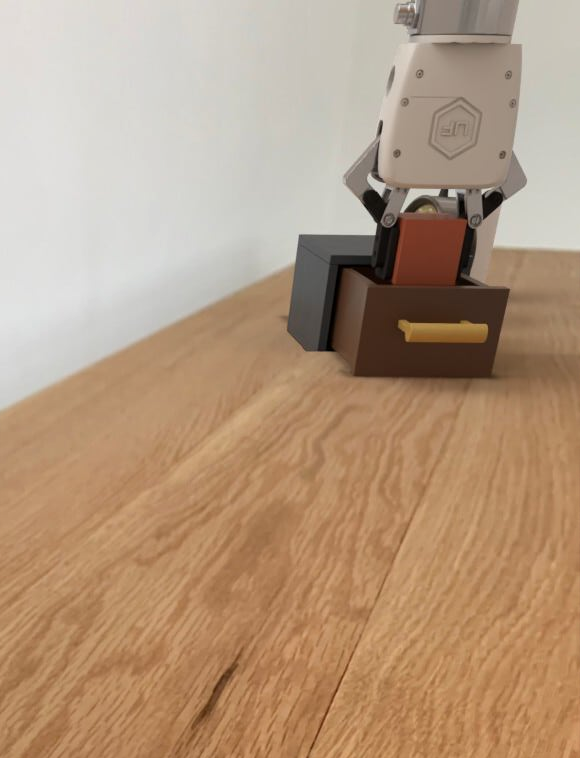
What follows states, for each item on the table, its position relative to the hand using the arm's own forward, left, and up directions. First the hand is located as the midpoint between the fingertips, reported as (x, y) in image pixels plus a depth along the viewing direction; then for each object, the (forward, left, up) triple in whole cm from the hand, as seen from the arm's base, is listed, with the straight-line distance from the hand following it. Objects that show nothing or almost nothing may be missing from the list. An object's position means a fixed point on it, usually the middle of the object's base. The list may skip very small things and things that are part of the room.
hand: (417, 275), depth 94 cm
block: (0, 0, 0) cm, 0 cm away
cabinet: (0, -12, -8) cm, 15 cm away
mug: (-15, -41, -8) cm, 44 cm away
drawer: (0, +2, -7) cm, 8 cm away
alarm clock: (-10, -27, -8) cm, 30 cm away
